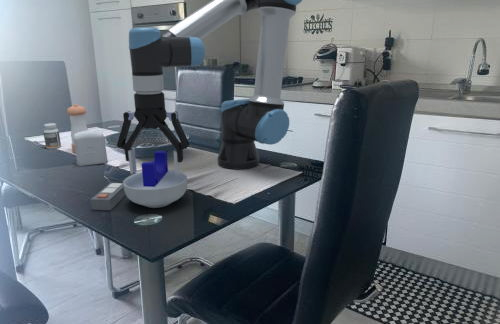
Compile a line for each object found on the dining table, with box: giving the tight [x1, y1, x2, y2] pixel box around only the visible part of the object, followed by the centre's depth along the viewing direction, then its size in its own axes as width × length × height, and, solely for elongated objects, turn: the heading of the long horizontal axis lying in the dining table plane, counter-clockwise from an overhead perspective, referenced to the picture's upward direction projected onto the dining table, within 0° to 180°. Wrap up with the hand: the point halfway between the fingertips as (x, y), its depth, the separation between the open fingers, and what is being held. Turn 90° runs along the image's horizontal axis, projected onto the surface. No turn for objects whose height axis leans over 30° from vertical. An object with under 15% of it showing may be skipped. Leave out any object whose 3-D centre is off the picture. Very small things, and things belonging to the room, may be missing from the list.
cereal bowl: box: [122, 169, 188, 209], centre depth 104 cm, size 17×17×7 cm
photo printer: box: [74, 129, 109, 167], centre depth 136 cm, size 10×4×12 cm, turn 110°
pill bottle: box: [42, 122, 62, 150], centre depth 159 cm, size 6×6×10 cm
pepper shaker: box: [66, 103, 89, 154], centre depth 151 cm, size 7×7×19 cm
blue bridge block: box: [141, 150, 169, 187], centre depth 102 cm, size 12×4×6 cm, turn 176°
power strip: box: [90, 182, 126, 211], centre depth 106 cm, size 5×15×4 cm, turn 176°
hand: (155, 172), depth 103 cm, fingers open, 11 cm apart
